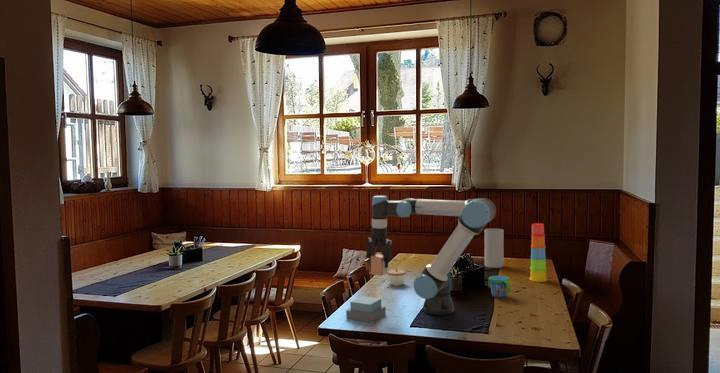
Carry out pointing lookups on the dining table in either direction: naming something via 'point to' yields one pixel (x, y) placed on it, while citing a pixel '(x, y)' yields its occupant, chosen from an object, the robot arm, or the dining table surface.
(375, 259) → the terracotta brick
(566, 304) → the dining table surface
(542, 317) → the dining table surface
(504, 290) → the snack cup
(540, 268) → the stacking cups
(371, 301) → the grey stepped block
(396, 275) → the lidded jar
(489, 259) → the cylinder vase
